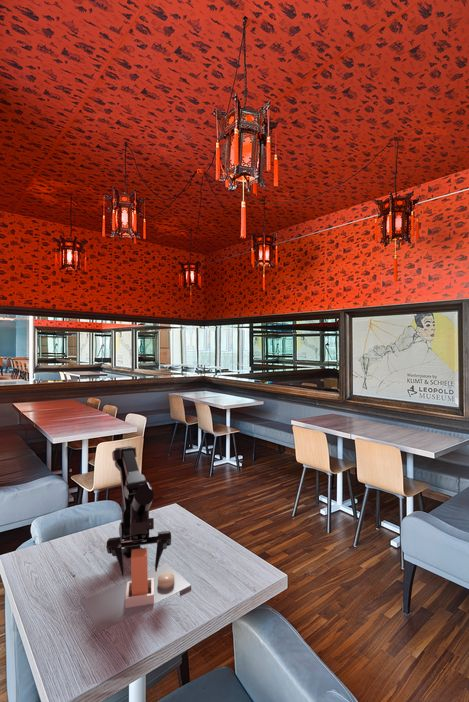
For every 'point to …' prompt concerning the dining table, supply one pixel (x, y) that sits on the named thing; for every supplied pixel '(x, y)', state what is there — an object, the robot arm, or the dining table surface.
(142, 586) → the orange square prism
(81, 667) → the dining table surface
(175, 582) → the board
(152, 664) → the dining table surface
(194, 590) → the dining table surface
